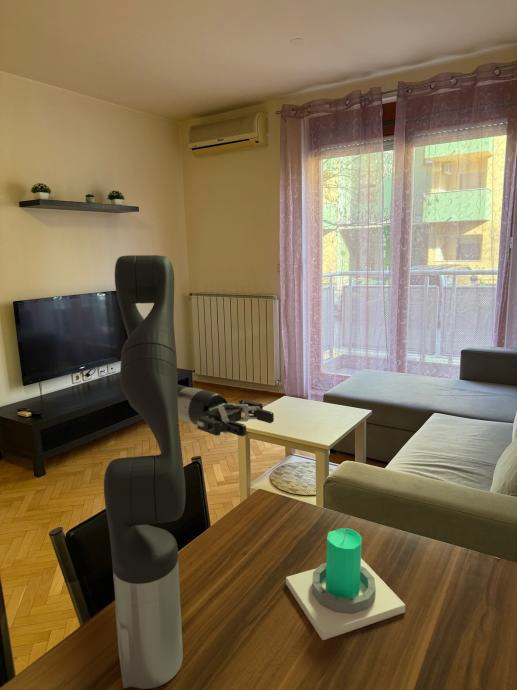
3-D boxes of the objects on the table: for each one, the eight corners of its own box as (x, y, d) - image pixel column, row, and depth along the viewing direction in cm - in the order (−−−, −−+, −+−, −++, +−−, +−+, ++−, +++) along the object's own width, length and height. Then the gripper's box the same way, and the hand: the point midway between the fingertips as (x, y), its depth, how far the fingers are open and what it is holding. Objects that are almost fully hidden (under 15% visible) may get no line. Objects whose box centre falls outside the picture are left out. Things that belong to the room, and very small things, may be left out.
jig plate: (322, 640, 77) (322, 621, 76) (286, 584, 89) (286, 567, 89) (404, 612, 82) (405, 594, 82) (359, 563, 95) (360, 547, 94)
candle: (357, 579, 88) (360, 520, 86) (361, 603, 82) (364, 541, 80) (324, 577, 89) (326, 519, 86) (326, 601, 83) (327, 539, 80)
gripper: (174, 398, 96) (234, 416, 86) (222, 382, 107) (281, 396, 97) (175, 434, 98) (235, 454, 88) (223, 414, 109) (281, 431, 99)
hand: (259, 424), depth 93 cm, fingers open, 8 cm apart
